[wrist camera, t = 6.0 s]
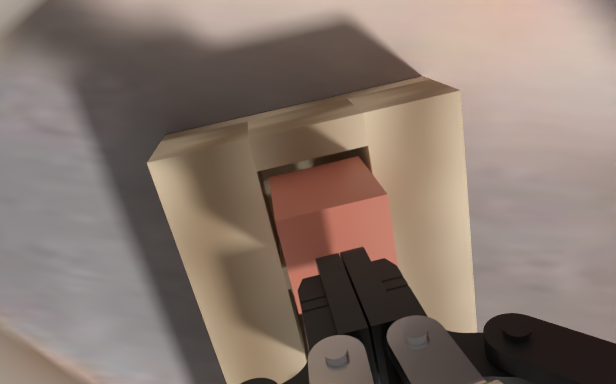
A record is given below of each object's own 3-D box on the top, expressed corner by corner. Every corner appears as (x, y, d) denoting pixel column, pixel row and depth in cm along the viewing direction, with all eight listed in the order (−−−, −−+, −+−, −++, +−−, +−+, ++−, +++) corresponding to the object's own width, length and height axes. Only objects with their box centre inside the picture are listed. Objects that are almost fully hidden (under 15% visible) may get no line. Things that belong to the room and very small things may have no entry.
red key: (358, 156, 18) (387, 194, 14) (371, 235, 19) (401, 288, 16) (268, 177, 18) (274, 221, 14) (288, 255, 19) (298, 314, 15)
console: (422, 76, 21) (460, 90, 17) (452, 370, 28) (483, 425, 24) (164, 135, 20) (146, 162, 17) (260, 419, 27) (262, 483, 24)
